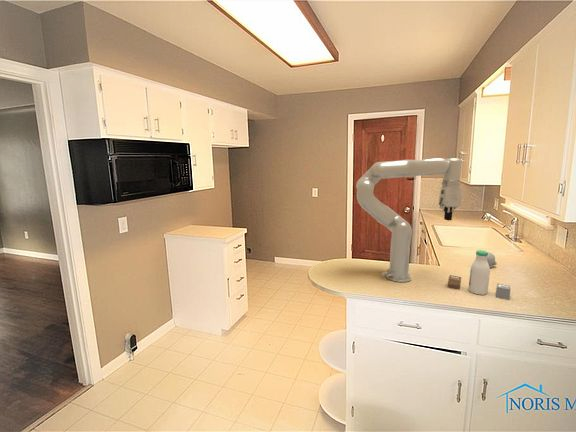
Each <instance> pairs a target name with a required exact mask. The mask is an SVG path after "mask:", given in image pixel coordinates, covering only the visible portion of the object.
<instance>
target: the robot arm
mask: <svg viewBox="0 0 576 432" xmlns="http://www.w3.org/2000/svg"><path fill="white" fill-rule="evenodd" d="M462 163H463V162H462V159H461V158H458V157H456V158H453V157H451V158H449V157H448V158H442V157H433V158H428V159H399V160H390V161H389V160H388V161H377V162H375V163H374V164H372V166H371V167H370V168H368V170H366V172H365V173H364V174H363V175H362V176H361V177H360V178H359V179H358V180H357V181H356V185H355V187H356V199H357V202H358V204H359V206H360V208H361V209H363V210H364V211H365V212H366V213H367V214H369V216H371V217H372V218H373V219H375V220H376V221H377V223H378V224H381V225H382V226H384V227H385V228H387V230H389V231H390V232H391V240H390V251H389V253H390V254H389V268H388V269H387V271H382V272H381V275H382V276H383V277H384V276H385V277H386V279H388V280H389V281H393V282H396V283H406V282H407V283H408V282H410V281H411V280H412V276H411V275H410V274H409V271H410V270H409V269H410V268H409V266H410V253H411V252H410V249H411V241H412V236H413V235H412V234H413V229H412V225H411V224H410V223H409V222H408V221H407V220H405V219H404V218H403V217H402V216H401V215H400V214H398V213H397V212H395V211H394V210H393V209H392V207H391V208H390V207H389V206H388V205H386V204H384V203H383V202H381V201H380V199H378V198H377V197H376V196H375V194H374V189H375V186H376V184H378V183H379V182H380V181H381V180H382V179H383V180H384V179H395V178H412V177H420V176H434V175H442V181H441V187H440V191H439V197H438V205H439V209H440V210H443V212H444V215H443V216H444V217H443V218H444V219H443V220H445V221H448V222H449V221H452V220H453V213H454V211H455V210H456V209H458V208H459V207H460V206H461V204H462V187H461V186H460V185H461V176H462V175H461V173H462V172H461V171H462Z"/></svg>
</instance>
